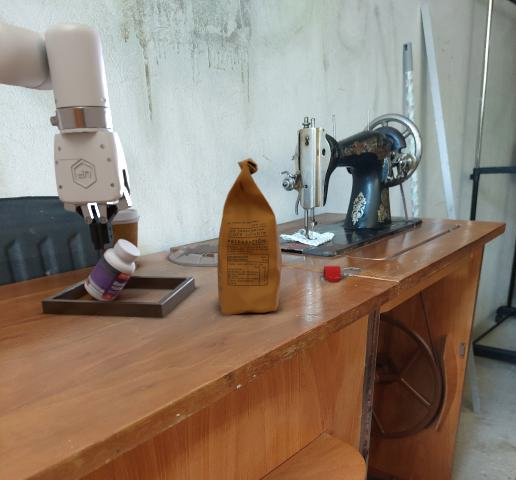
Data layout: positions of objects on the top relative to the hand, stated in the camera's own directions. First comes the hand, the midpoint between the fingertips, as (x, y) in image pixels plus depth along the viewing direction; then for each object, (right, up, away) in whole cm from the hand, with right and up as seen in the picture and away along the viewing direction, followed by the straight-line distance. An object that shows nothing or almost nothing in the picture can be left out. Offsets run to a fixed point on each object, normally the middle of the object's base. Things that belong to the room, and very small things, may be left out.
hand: (104, 247), depth 82 cm
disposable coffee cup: (-4, 0, +27) cm, 27 cm away
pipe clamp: (+39, -3, +17) cm, 42 cm away
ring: (+14, +5, +37) cm, 40 cm away
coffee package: (+23, -10, -1) cm, 25 cm away
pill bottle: (-2, -7, +3) cm, 8 cm away
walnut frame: (+3, -8, +3) cm, 9 cm away
